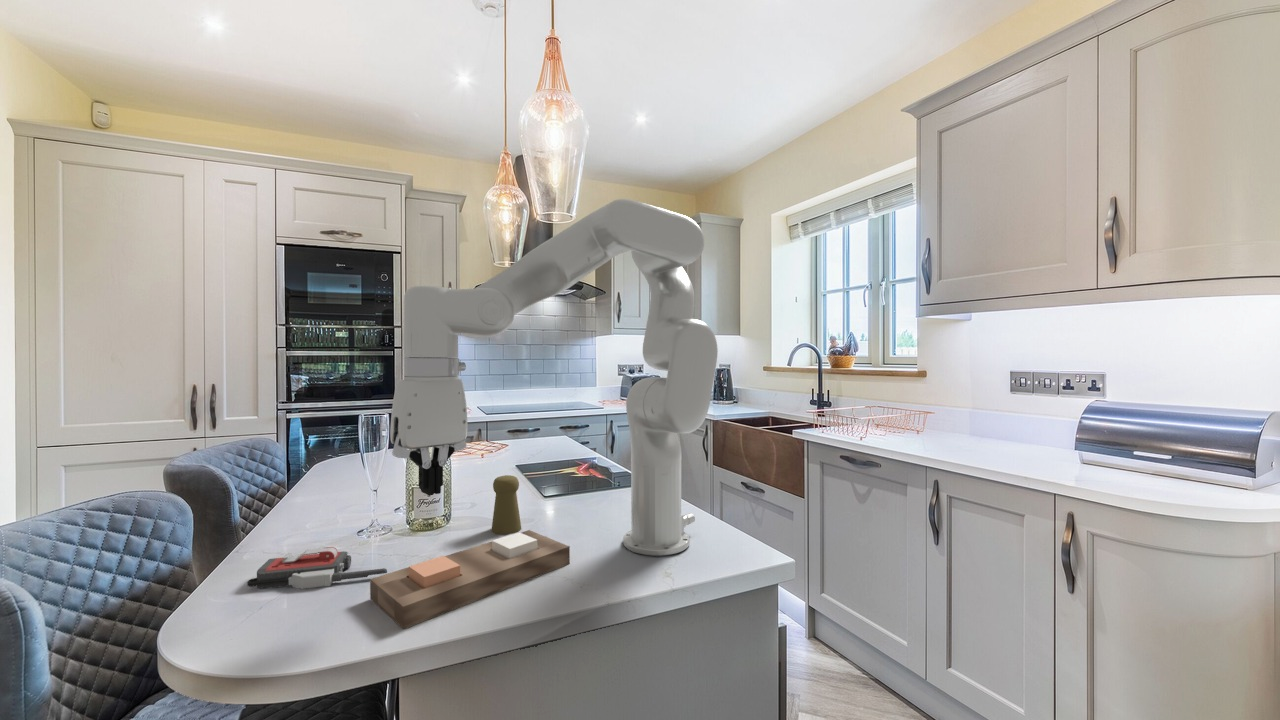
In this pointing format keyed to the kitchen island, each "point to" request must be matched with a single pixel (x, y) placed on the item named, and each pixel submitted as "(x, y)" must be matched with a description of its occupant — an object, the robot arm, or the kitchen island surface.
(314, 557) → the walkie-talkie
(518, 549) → the off-white key
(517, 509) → the cork
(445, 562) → the terracotta key
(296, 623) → the kitchen island surface
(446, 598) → the block
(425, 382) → the robot arm
